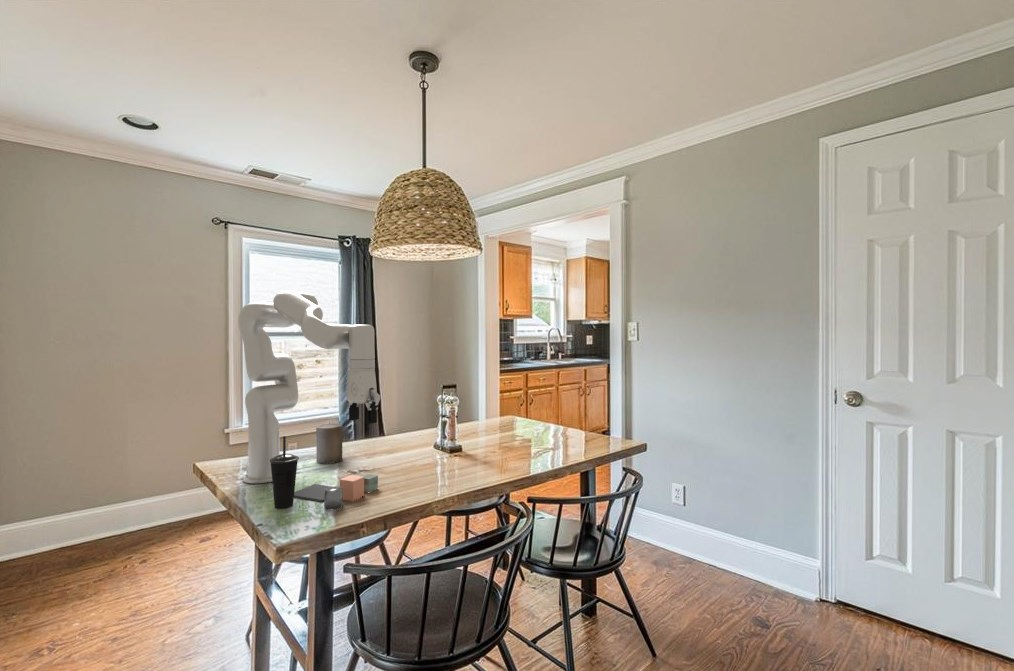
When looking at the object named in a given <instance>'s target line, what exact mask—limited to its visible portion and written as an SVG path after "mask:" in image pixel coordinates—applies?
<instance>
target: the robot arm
mask: <svg viewBox="0 0 1014 671" xmlns="http://www.w3.org/2000/svg"><path fill="white" fill-rule="evenodd" d="M323 317H324V314H323V310H322V308H321V307H320V306H319V302H318V299H317V298H316V297H315V295H313V294H312V293H309V292H303V291H295V290H282V291H281V292H278V293H277V294H276V295H275V296H274V297H273V300H272V302H269V301H268V302H267V301H253V302H250V303H247V304H245V305H244V306H242V308H241V309H240V310H239V314H238V317H237V323H238V329H239V332H240V336H241V339H242V343H243V352H244V360H245V366H246V367H245V368H246V374H247V377H248V379H249V380H250V381H252V382H256V383H262V382H263V383H265V382H274V384H267V385H266V384H265V385H259V386H255V387H253V388H251V389H249V391H248V392H246V394H245V397H244V404H245V410H246V414H247V423H248V424H247V425H248V430H247V431H248V438H247V439H248V441H247V442H248V448H247V449H248V450H247V451H248V452H247V453H248V457H247V458H248V459H247V460H248V462H247V463H246V464H245V465H244V466H242V467H241V470H242V471H243V472H244V471H246V474H245V475H244V476H242V481H243V482H244V483H246V484H252V485H253V484H254V485H255V484H258V485H259V484H266V483H267V482H268V483H271V482H272V472H271V463H270V459H271V458H274V457H275V456H277V455H281V454H280V450H281V449H280V446H281V445H280V444H281V443H280V438H281V437H280V436H281V434H280V432H281V431H280V430H281V429H280V423H279V419H277V417H276V415H275V413H277V412H282V411H283V412H284V411H290V410H291V409H294V408H295V407H296V405H297V404H298V402H299V388H298V379H297V372H296V366H295V362H294V361H293V359H292V357H291V356H289V354H286V353H274V352H273V346H272V341H271V338H270V337H269V334H268V333H267V332H266V331H265V330H264V328H288V327H291V326H294V325H297V326H299V327H300V330H301V333H302V335H303V337H304V338H305V339H306V340H308V341H309V342H310V343H312V344H314V345H315V346H317V347H319V348H321V349H324V350H338V349H339V350H340V349H341V350H343V349H344V350H345V349H348V365H349V366H348V372H347V379H346V392H345V396H346V402H347V407H348V420H349V421H356V420H360V406H358V405H359V404H361V405H362V404H365V406H366V408H367V410H366V416H365V417H366V424H368V425H371V424H376V423H377V422H378V409H379V405H380V400H381V395H380V394H379V393H378V392H377V391H378V390H377V377H376V376H377V375H376V371H375V370H376V369H375V368H376V363H375V362H376V360H375V358H376V356H375V355H376V354H375V353H376V352H375V347H376V346H375V345H376V344H375V328H374V326H373V325H371V324H353V325H352V324H339V323H338V324H335V323H334V324H333V323H326V322H324V321H323Z"/></svg>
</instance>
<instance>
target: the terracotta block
mask: <svg viewBox="0 0 1014 671" xmlns="http://www.w3.org/2000/svg"><path fill="white" fill-rule="evenodd" d="M339 487H342V488H343V501H347V500H351V501H350V502H355V501H357V500H359V499H361V498H363V497H365V493H364V477H362V475H354V474H349V475H347V476H345V477H342V478H340V479H339ZM362 496H363V497H362ZM360 497H361V498H360ZM358 498H359V499H358ZM356 499H357V500H356ZM354 500H355V501H354Z"/></svg>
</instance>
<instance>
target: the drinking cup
mask: <svg viewBox="0 0 1014 671" xmlns="http://www.w3.org/2000/svg"><path fill="white" fill-rule="evenodd" d="M286 439H287V437H286V436H285V435H284V436H282V453H281V454H280V455H277V456H275V457H274V458H271V459H270V463H271V472H272V491H273V492H272V494H273V501H274V502H273V503H274V504H273V505H274V508H275V509H277V510H278V509H279V510H283V509H285V510H286V509H289V508H291V507H293V506H294V498H295V497H294V492H296V491H295V490H296V481H297V479H296V478H297V472H298V471H297V469H298V461H299V459H300V458H299V456H297V455H294V454H291V453H286V452H287V451H286V450H287V449H286V448H287V447H286V445H287V444H286V441H287V440H286Z"/></svg>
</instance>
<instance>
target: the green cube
mask: <svg viewBox="0 0 1014 671" xmlns="http://www.w3.org/2000/svg"><path fill="white" fill-rule="evenodd" d="M361 476H362V477H364V492H371V491H373V490H375V489H377V488H378V489H379V474H372V473H365V474H362V475H361ZM378 489H377V490H378ZM375 491H376V490H375ZM373 492H374V491H373ZM371 493H372V492H371Z"/></svg>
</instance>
